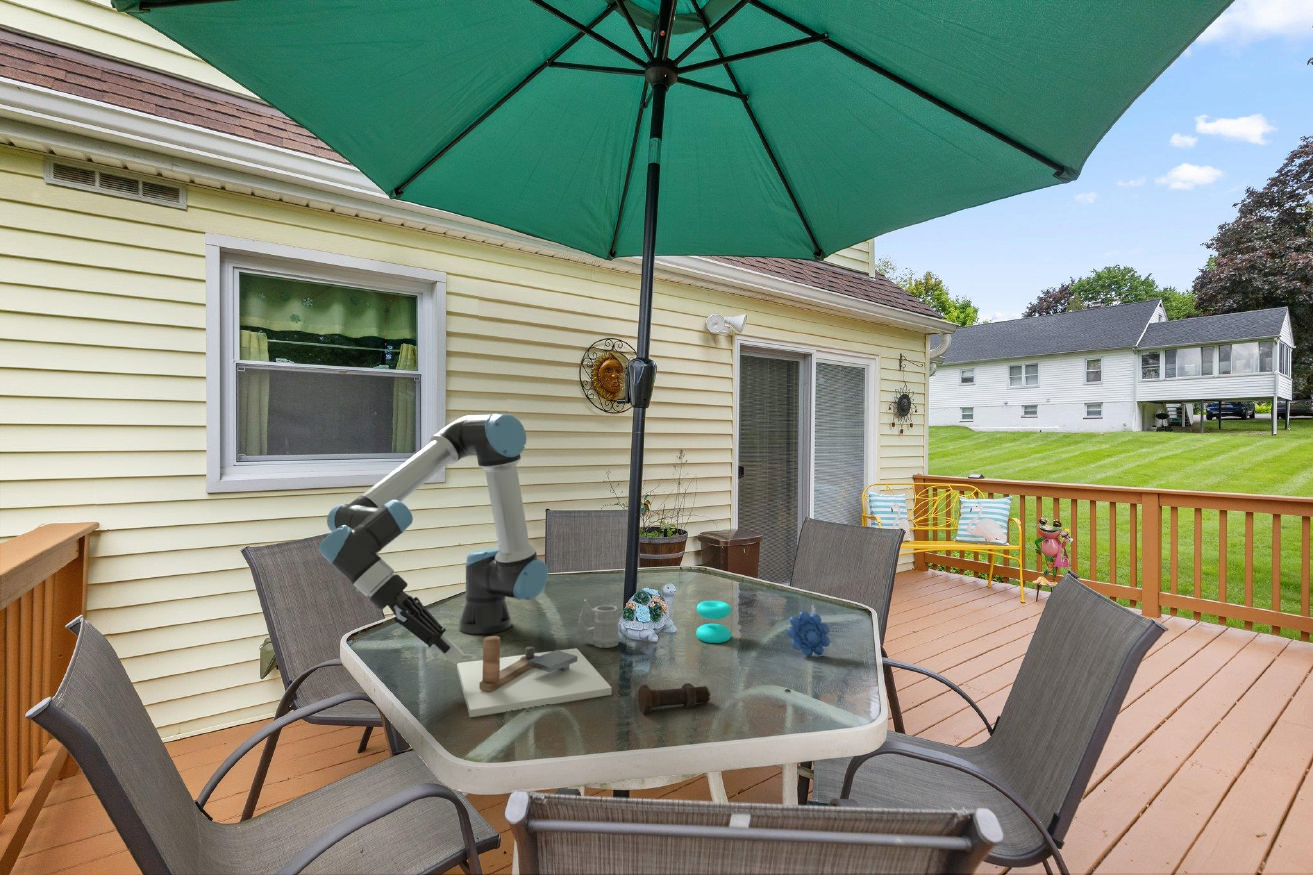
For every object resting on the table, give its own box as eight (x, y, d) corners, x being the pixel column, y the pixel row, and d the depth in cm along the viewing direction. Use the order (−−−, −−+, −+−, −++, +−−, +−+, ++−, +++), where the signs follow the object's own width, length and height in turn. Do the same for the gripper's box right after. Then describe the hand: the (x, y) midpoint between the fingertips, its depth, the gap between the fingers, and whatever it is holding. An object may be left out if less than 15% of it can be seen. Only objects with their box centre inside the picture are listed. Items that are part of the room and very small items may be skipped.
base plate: (457, 669, 145) (457, 663, 145) (576, 653, 157) (576, 648, 157) (469, 717, 119) (469, 709, 119) (611, 694, 131) (611, 687, 131)
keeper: (556, 670, 145) (556, 649, 145) (577, 677, 141) (577, 656, 141) (527, 681, 138) (528, 660, 138) (548, 689, 134) (549, 667, 134)
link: (527, 660, 147) (527, 617, 147) (542, 662, 145) (543, 619, 146) (476, 688, 129) (477, 640, 129) (493, 692, 127) (494, 642, 128)
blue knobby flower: (792, 662, 152) (792, 615, 153) (784, 653, 159) (784, 608, 159) (836, 661, 154) (836, 615, 154) (826, 652, 160) (826, 608, 160)
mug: (617, 648, 161) (618, 604, 162) (574, 647, 162) (575, 603, 162) (621, 639, 169) (621, 597, 169) (580, 638, 170) (580, 596, 170)
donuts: (694, 607, 167) (698, 598, 177) (694, 643, 167) (698, 632, 177) (730, 609, 165) (732, 600, 175) (730, 645, 165) (731, 634, 175)
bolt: (708, 713, 127) (641, 719, 122) (701, 693, 131) (636, 699, 127) (715, 694, 124) (646, 700, 120) (707, 674, 129) (640, 680, 124)
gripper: (377, 590, 136) (452, 661, 139) (358, 605, 123) (441, 682, 126) (402, 567, 137) (476, 637, 139) (386, 579, 124) (467, 656, 127)
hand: (459, 658), depth 133 cm, fingers closed
